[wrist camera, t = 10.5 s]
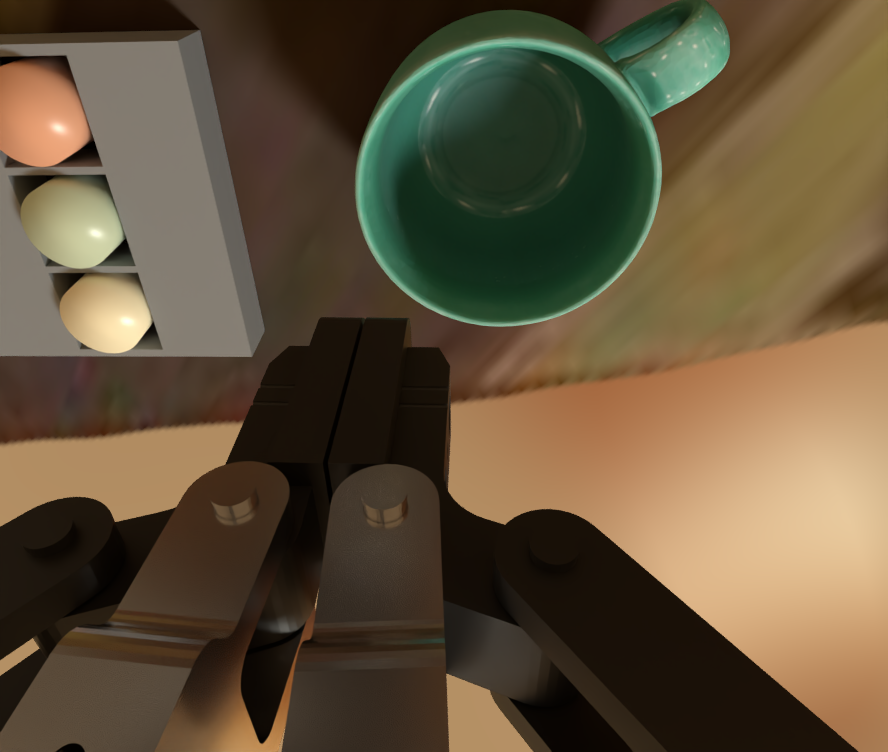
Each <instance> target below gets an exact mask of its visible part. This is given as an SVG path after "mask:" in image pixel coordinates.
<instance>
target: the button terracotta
mask: <svg viewBox="0 0 888 752" xmlns="http://www.w3.org/2000/svg"><path fill="white" fill-rule="evenodd" d="M92 141H94V138H93V135H92V132H91V129H90V126H89V123H88V119H87V116H86V113H85V110H84V107H83V104H82V101H81V98H80V95H79V92H78V89H77V86H76V83H75V80H74V77H73V74H72V71H71V68H70V65H69V62H68V59H67V57H65V56H62V55H53V56H28V57H25V58H22V59H19V60H17V61H14V62H11V63H8V64H6V65H3V66H0V150H1V151H3V152H4V153H5V154H7V155H8V156H10V157H11V158H13V159H15V160H17V161H19V162H21V163H24V164H27V165H30V166H36V167H48V166H52V165H55V164H58V163H60V162H61V161H63V160H64V159H66V158H67V157H69V156H70V155H72V154H73V153H75V152H77V151H78V150H80V149H81V148H83V147H84V146H86V145H87V144H89V143H91V142H92Z"/></svg>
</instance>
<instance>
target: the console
mask: <svg viewBox="0 0 888 752" xmlns="http://www.w3.org/2000/svg"><path fill="white" fill-rule="evenodd" d="M53 55H67V59H68V62H69V65H70V68H71V71H72V74H73V77H74V80H75V83H76V86H77V89H78V92H79V95H80V98H81V101H82V104H83V107H84V110H85V113H86V116H87V119H88V123H89V126H90V129H91V132H92V135H93V138H94V141H95V144H96V147H97V149H80V150H78V151H77V152H75V153H73V154H72V155H70V156H69V157H67V158H66V159H64V160H63V161H61V162H60V163H58V164H55V165H52V166H48V167H36V166H30V165H27V164H24V163H21V162H19V161H17V160H15V159H13V158H11V157H10V156H8V155H7V154H5V153H4V152H3V151H1V150H0V356H210V357H252V356H253V354H254V352H255V349H256V347H257V345H258V343H259V341H260V339H261V337H262V335H263V333H264V331H265V329H264V324H263V320H262V315H261V311H260V306H259V301H258V297H257V292H256V287H255V283H254V278H253V273H252V269H251V264H250V260H249V255H248V250H247V246H246V241H245V236H244V232H243V227H242V223H241V218H240V213H239V209H238V204H237V199H236V195H235V190H234V185H233V181H232V176H231V172H230V167H229V162H228V158H227V153H226V148H225V144H224V139H223V135H222V130H221V125H220V121H219V116H218V111H217V107H216V102H215V97H214V93H213V88H212V84H211V79H210V74H209V70H208V65H207V60H206V56H205V51H204V47H203V42H202V37H201V33H200V30H174V31H128V32H81V33H35V34H0V66H3V62H2V60H1V57H2V56H53ZM98 174H106V177H107V180H108V183H109V186H110V190H111V193H112V196H113V199H114V202H115V205H116V208H117V211H118V214H119V217H120V220H121V223H122V226H123V229H124V232H125V235H126V238H127V241H128V244H120V245H119V246H118V247H117V248H116V249H115V250H113V251H112V252H111V253H110V254H109V255H108V256H107V257H106V258H105V259H104V260H103V261H102V262H101V263H100V264H98V265H96V266H93V267H90V268H82V269H80V268H71V267H67V266H64V265H61V264H59V263H57V262H55V261H53V260H51V259H49V258H48V257H46V256H45V255H44V254H42V253H41V252H40V251H39V250H38V249H37V248H36V247H35V246H34V245H33V243H32V242H31V241H30V240H29V238H28V236H27V235H26V233H25V231H24V228H23V225H22V222H21V214H20V213H21V206H22V203H23V201H24V199H25V198H26V196H27V195H28V194H29V193H31V192H32V191H34V190H35V189H37V188H38V187H40V186H41V185H43V184H44V183H46V182H47V181H48V180H47V178H46V175H98ZM83 273H138V275H139V278H140V281H141V284H142V287H143V290H144V293H145V296H146V299H147V302H148V305H149V308H150V311H151V314H152V317H153V321H154V324H151V326H150V327H149V328H148V330H147V331H146V332H145V334H144V335H143V336H142V338H141V339H140V340H139V342H138V343H137V344H136V345H135V346H134V347H133V348H132V349H130V350H128V351H125V352H122V353H105V352H100V351H97V350H94V349H92V348H90V347H88V346H86V345H84V344H83V343H81V342H80V341H78V340H77V339H76V338H75V337H74V336H73V335H72V334H71V333H70V332H69V331H68V330H67V328H66V327H65V325H64V323H63V321H62V319H61V315H60V302H61V299H62V297H63V295H64V294H65V293H66V292H67V291H68V290H69V289H70V288H71V287H72V286H73V285H74V284H75V283H76V282H77V281H78V280H79V279H80V278H81V277H82V276H83V275H84V274H83Z"/></svg>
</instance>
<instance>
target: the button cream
mask: <svg viewBox="0 0 888 752" xmlns="http://www.w3.org/2000/svg"><path fill="white" fill-rule="evenodd" d="M60 315H61V319H62V321H63V323H64V325H65V327H66V328H67V330H68V331H69V332H70V333H71V334H72V335H73V336H74V337H75V338H76V339H77V340H78V341H80V342H81V343H83V344H84V345H86V346H88V347H90V348H92V349H94V350H97V351H100V352H105V353H122V352H125V351H128V350H130V349H132V348H133V347H134V346H135V345H136V344H137V343H138V342H139V340H140V339H141V338H142V336H143V335H144V334H145V332H146V331H147V330H148V328H149V327H150V326H151V324H152V323H153V322H154V321H153V317H152V314H151V311H150V308H149V305H148V302H147V299H146V296H145V293H144V290H143V287H142V284H141V281H140V278H139V275H138V273H85V274H84V275H83V276H82V277H81V278H80V279H79V280H78V281H77V282H76V283H75V284H74V285H73V286H72V287H71V288H70V289H69V290H68V291H67V292H66V293H65V294H64V295H63V297H62V299H61V302H60Z"/></svg>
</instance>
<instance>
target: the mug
mask: <svg viewBox="0 0 888 752" xmlns="http://www.w3.org/2000/svg"><path fill="white" fill-rule="evenodd" d="M729 53H730V41H729V35H728V32H727V28H726V26H725V24H724V22H723V20H722V18H721V17H720V15H719V14H718V13H717V11H716V10H715V9H714V7H712V6H711V5H710V4H709V3H708V2H707V1H705V0H680V1H677V2H674V3H671V4H669V5H667V6H665V7H662V8H660V9H658V10H656V11H654V12H652V13H650V14H648V15H647V16H645V17H643V18H641V19H639V20H637V21H636V22H634V23H632V24H630V25H629V26H627V27H625V28H623V29H621V30H620V31H618V32H616V33H615V34H613V35H612V36H610V37H608V38H607V39H605V40H603V41H602V42H600V43H599V44H596V43H595V42H594V41H592V40H591V39H590V38H589V37H587V36H586V35H585V34H583V33H582V32H580V31H579V30H577V29H575V28H574V27H572V26H570V25H568V24H566V23H564V22H562V21H560V20H557V19H555V18H552V17H550V16H547V15H543V14H539V13H535V12H530V11H521V10H496V11H488V12H483V13H478V14H474V15H471V16H468V17H465V18H462V19H460V20H457V21H455V22H452V23H451V24H449V25H447V26H445V27H443V28H441V29H440V30H438V31H437V32H435V33H434V34H432V35H431V36H429V37H428V38H427V39H426V40H424V41H423V42H422V43H421V44H420V45H418V46H417V47H416V48H415V49H414V50H413V51H412V52H411V53H410V54H409V55H408V56H407V57H406V59H405V60H404V61H403V62H402V64H401V65H400V66H399V67H398V69H397V70H396V71H395V73H394V74H393V76H392V77H391V79H390V80H389V82H388V84H387V85H386V87H385V89H384V91H383V92H382V94H381V96H380V98H379V100H378V102H377V104H376V106H375V108H374V111H373V113H372V115H371V117H370V120H369V122H368V125H367V127H366V130H365V133H364V135H363V138H362V142H361V145H360V149H359V153H358V157H357V163H356V173H355V201H356V209H357V214H358V219H359V222H360V226H361V229H362V232H363V235H364V237H365V240H366V242H367V244H368V247H369V249H370V250H371V252H372V254H373V256H374V257H375V259H376V261H377V262H378V264H379V265H380V266H381V268H382V269H383V270H384V271H385V273H386V274H387V275H388V276H389V277H390V279H391V280H392V281H393V282H394V283H395V284H396V285H397V286H398V287H399V288H400V289H401V290H403V291H404V292H405V293H406V294H408V295H409V296H410V297H412V298H413V299H414V300H416V301H417V302H419V303H420V304H422V305H424V306H425V307H427V308H429V309H431V310H433V311H435V312H437V313H439V314H441V315H444V316H447V317H449V318H452V319H455V320H459V321H462V322H466V323H471V324H477V325H484V326H517V325H525V324H531V323H537V322H541V321H545V320H548V319H552V318H555V317H558V316H561V315H563V314H565V313H567V312H570V311H572V310H574V309H576V308H578V307H580V306H581V305H583V304H585V303H587V302H588V301H590V300H591V299H593V298H594V297H596V296H597V295H598V294H600V293H601V292H602V291H604V290H605V289H606V288H607V287H608V286H609V285H610V284H611V283H613V282H614V281H615V280H616V279H617V278H618V277H619V276H620V275H621V273H622V272H623V271H624V270H625V269H626V268H627V266H628V265H629V264H630V263H631V261H632V260H633V259H634V257H635V256H636V255H637V253H638V251H639V250H640V248H641V246H642V244H643V243H644V241H645V239H646V237H647V235H648V232H649V230H650V228H651V225H652V223H653V220H654V217H655V213H656V209H657V205H658V201H659V196H660V190H661V178H662V166H661V154H660V148H659V143H658V139H657V135H656V131H655V128H654V125H653V122H652V119H651V117H652V116H654V115H656V114H657V113H659V112H661V111H663V110H665V109H667V108H669V107H670V106H672V105H674V104H676V103H678V102H680V101H682V100H684V99H686V98H688V97H689V96H691V95H692V94H694V93H695V92H697V91H698V90H700V89H701V88H702V87H704V86H705V85H706V84H707V83H709V82H710V81H711V80H712V79H713V78H715V77H716V76H717V75H718V73H719V72H720V71H721V70H722V69H723V68H724V66H725V65H726V62H727V60H728V58H729Z"/></svg>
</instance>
